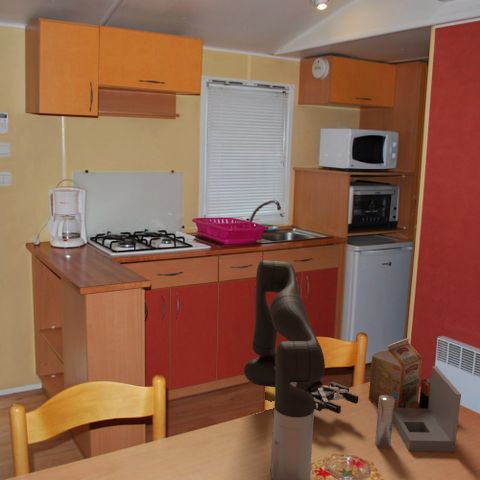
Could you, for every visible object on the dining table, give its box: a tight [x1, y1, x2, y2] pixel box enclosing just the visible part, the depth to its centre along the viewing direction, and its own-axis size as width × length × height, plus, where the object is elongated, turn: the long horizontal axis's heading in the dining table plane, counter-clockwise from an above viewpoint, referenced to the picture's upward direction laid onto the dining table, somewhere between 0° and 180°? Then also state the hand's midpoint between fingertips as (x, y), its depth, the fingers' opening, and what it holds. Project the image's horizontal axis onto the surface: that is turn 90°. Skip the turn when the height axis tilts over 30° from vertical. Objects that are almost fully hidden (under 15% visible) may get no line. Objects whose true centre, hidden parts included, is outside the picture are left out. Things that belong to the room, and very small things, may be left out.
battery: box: [418, 378, 431, 409], centre depth 176 cm, size 4×7×10 cm, turn 100°
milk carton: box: [368, 338, 423, 408], centre depth 181 cm, size 11×11×19 cm
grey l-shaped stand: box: [392, 365, 462, 453], centre depth 161 cm, size 12×18×16 cm, turn 1°
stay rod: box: [374, 395, 395, 449], centre depth 155 cm, size 4×4×13 cm
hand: (349, 405), depth 163 cm, fingers open, 8 cm apart
